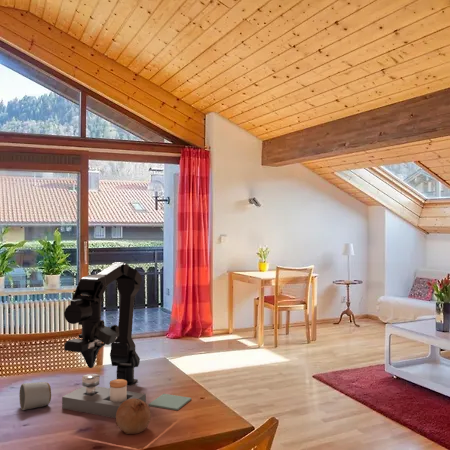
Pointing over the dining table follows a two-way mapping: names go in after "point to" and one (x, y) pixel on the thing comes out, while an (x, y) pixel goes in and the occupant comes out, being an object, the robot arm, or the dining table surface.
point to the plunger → (90, 383)
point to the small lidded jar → (118, 390)
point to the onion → (133, 416)
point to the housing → (96, 401)
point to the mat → (170, 402)
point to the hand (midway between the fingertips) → (90, 367)
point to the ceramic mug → (34, 395)
